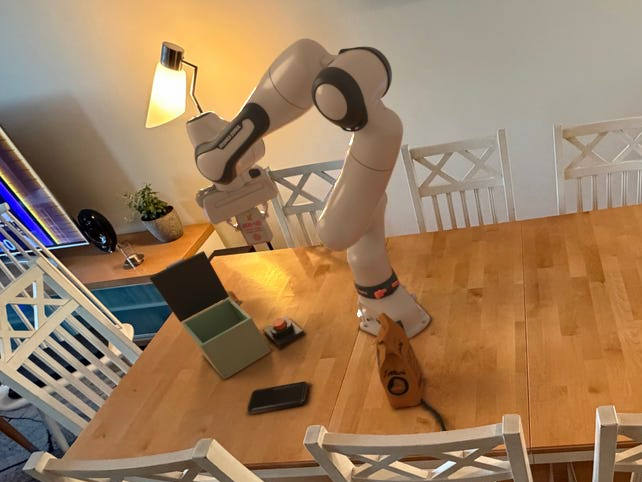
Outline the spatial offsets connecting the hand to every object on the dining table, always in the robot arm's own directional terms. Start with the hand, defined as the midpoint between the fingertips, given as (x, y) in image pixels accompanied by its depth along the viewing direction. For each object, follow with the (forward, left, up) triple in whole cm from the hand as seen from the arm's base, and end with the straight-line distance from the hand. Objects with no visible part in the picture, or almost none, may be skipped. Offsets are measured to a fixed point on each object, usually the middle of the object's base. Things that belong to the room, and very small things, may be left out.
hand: (252, 224), depth 144 cm
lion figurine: (+12, +14, -30) cm, 35 cm away
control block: (-12, +9, -29) cm, 33 cm away
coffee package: (-61, -1, -30) cm, 68 cm away
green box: (-8, +23, -29) cm, 38 cm away
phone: (-36, +23, -30) cm, 52 cm away
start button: (-12, +9, -26) cm, 30 cm away
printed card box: (0, 0, -6) cm, 6 cm away
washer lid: (-2, +23, -8) cm, 24 cm away
